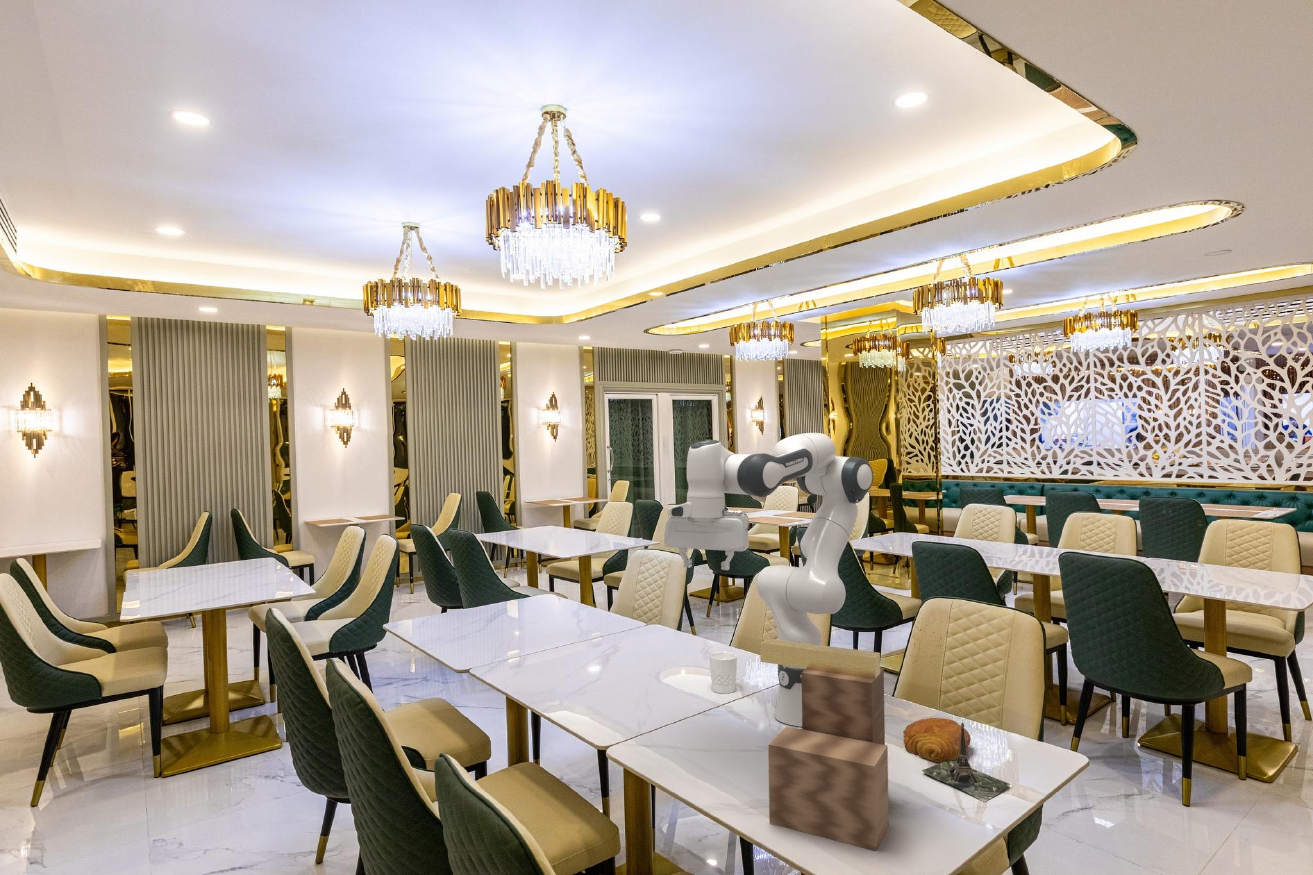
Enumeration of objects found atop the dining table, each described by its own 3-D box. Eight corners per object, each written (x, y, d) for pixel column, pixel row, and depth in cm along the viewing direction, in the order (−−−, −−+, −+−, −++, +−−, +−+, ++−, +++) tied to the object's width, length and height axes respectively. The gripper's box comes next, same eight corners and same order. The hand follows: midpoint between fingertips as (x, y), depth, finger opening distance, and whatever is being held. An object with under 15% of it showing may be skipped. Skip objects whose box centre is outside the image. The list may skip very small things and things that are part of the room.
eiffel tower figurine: (1012, 787, 153) (1012, 723, 153) (984, 802, 148) (983, 735, 147) (948, 761, 166) (947, 702, 166) (920, 773, 160) (919, 712, 160)
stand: (769, 823, 141) (767, 686, 141) (804, 778, 159) (803, 657, 159) (876, 850, 131) (873, 704, 131) (900, 799, 149) (898, 670, 149)
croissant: (978, 757, 173) (980, 722, 174) (953, 770, 162) (955, 733, 163) (918, 739, 183) (921, 706, 184) (890, 750, 172) (893, 715, 172)
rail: (760, 661, 156) (760, 642, 156) (767, 656, 160) (767, 638, 160) (875, 678, 145) (875, 658, 145) (880, 672, 148) (879, 652, 148)
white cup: (736, 695, 211) (735, 660, 211) (708, 693, 212) (707, 658, 212) (738, 686, 218) (738, 652, 218) (712, 684, 220) (711, 651, 220)
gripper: (752, 509, 172) (752, 569, 172) (671, 507, 180) (672, 563, 180) (744, 512, 166) (744, 573, 166) (661, 509, 175) (661, 567, 175)
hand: (706, 568), depth 173 cm, fingers open, 8 cm apart
